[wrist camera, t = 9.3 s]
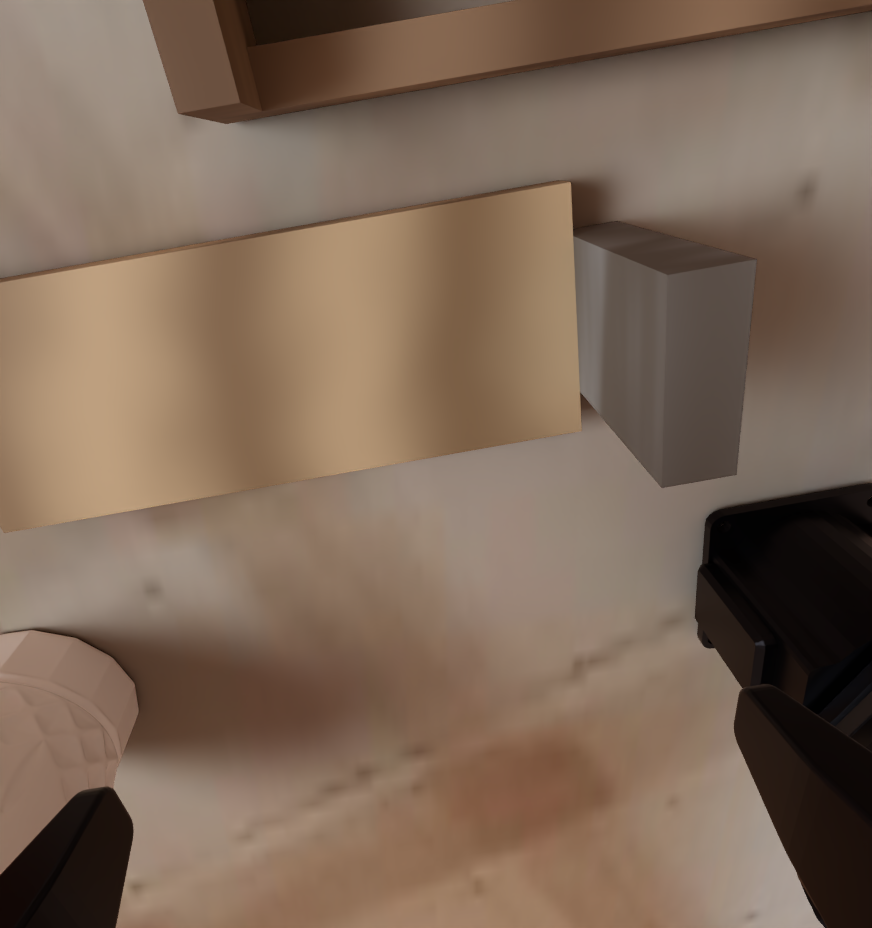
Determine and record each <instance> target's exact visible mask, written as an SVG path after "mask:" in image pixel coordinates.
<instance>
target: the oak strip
mask: <svg viewBox="0 0 872 928" xmlns="http://www.w3.org/2000/svg"><path fill="white" fill-rule="evenodd" d="M756 263H757V259H754V258H750V257H747V256H743V255H739V254H736V253H732V252H728V251H725V250H721V249H717V248H714V247H710V246H706V245H703V244H699V243H695V242H691V241H688V240H684V239H680V238H677V237H673V236H669V235H666V234H662V233H658V232H655V231H651V230H647V229H644V228H640V227H636V226H633V225H629V224H625V223H622V222H618V221H615V222H610V223H604V224H598V225H593V226H587V227H581V228H576V229H573V222H572V199H571V182H566V181H559V180H558V181H552V182H546V183H541V184H535V185H529V186H524V187H518V188H512V189H507V190H501V191H495V192H490V193H484V194H478V195H473V196H467V197H461V198H455V199H450V200H444V201H438V202H433V203H427V204H421V205H416V206H410V207H404V208H399V209H393V210H387V211H382V212H376V213H370V214H365V215H359V216H353V217H348V218H342V219H336V220H331V221H325V222H319V223H313V224H308V225H302V226H296V227H291V228H285V229H279V230H274V231H268V232H262V233H257V234H251V235H245V236H240V237H234V238H228V239H223V240H217V241H211V242H206V243H200V244H194V245H189V246H183V247H177V248H171V249H166V250H160V251H154V252H149V253H143V254H137V255H132V256H126V257H120V258H115V259H109V260H103V261H98V262H92V263H86V264H81V265H75V266H69V267H64V268H58V269H52V270H47V271H41V272H35V273H30V274H24V275H18V276H12V277H7V278H1V279H0V527H1V529H2V530H3V532H4V533H8V532H13V531H19V530H25V529H30V528H36V527H42V526H47V525H53V524H58V523H64V522H70V521H75V520H81V519H87V518H92V517H98V516H104V515H109V514H115V513H121V512H126V511H132V510H138V509H143V508H149V507H155V506H160V505H166V504H172V503H177V502H183V501H188V500H194V499H200V498H205V497H211V496H217V495H222V494H228V493H234V492H239V491H245V490H251V489H256V488H262V487H268V486H273V485H279V484H285V483H290V482H296V481H302V480H307V479H313V478H319V477H324V476H330V475H335V474H341V473H347V472H352V471H358V470H364V469H369V468H375V467H381V466H386V465H392V464H398V463H403V462H409V461H415V460H420V459H426V458H432V457H437V456H443V455H449V454H454V453H460V452H465V451H471V450H477V449H482V448H488V447H494V446H499V445H505V444H511V443H516V442H522V441H528V440H533V439H539V438H545V437H550V436H556V435H562V434H567V433H573V432H579V431H582V427H581V404H580V392H581V394H582V395H583V396H584V397H585V398H586V399H587V401H588V402H589V403H590V404H591V405H592V406H593V408H594V409H595V410H596V411H597V412H598V414H599V415H600V416H601V417H602V418H603V419H604V421H605V422H606V423H607V424H608V425H609V426H610V428H611V429H612V430H613V431H614V432H615V434H616V435H617V436H618V437H619V438H620V439H621V441H622V442H623V443H624V444H625V445H626V446H627V448H628V449H629V450H630V451H631V452H632V454H633V455H634V456H635V457H636V458H637V459H638V461H639V462H640V463H641V464H642V465H643V467H644V468H645V469H646V470H647V471H648V472H649V474H650V475H651V476H652V477H653V478H654V479H655V481H656V482H657V483H658V484H659V485H660V487H661V488H665V487H670V486H676V485H681V484H687V483H693V482H698V481H704V480H710V479H715V478H721V477H727V476H732V475H736V474H737V464H738V453H739V443H740V432H741V421H742V411H743V400H744V390H745V379H746V369H747V358H748V348H749V337H750V327H751V316H752V305H753V295H754V284H755V274H756Z"/></svg>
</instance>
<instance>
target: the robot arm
mask: <svg viewBox="0 0 872 928" xmlns="http://www.w3.org/2000/svg"><path fill="white" fill-rule="evenodd" d="M871 496H872V483H868V484H862V485H857V486H851V487H845V488H840V489H834V490H828V491H823V492H817V493H812V494H806V495H800V496H795V497H789V498H783V499H778V500H772V501H766V502H761V503H755V504H749V505H744V506H738V507H733V508H727V509H721V510H717V511H715V512H713V513H712V514H710V515H709V516H708V518H707V519H706V522H705V531H704V546H703V560H702V565H701V566H700V568H699V570H698V576H697V591H696V606H695V619H696V621H697V622H698V632H697V635H698V638H699V640H700V641H701V643H702V644H703V646H704V647H706V648H715V649H716V650H717V651H718V653H719V654H720V656H721V657H722V659H723V660H724V662H725V663H726V665H727V666H728V668H729V669H730V671H731V672H732V674H733V675H734V676H735V678H736V679H737V681H738V682H739V684H740V685H741V687H742V688H743V689H742V690H741V691H740V693H739V697H738V703H737V708H736V714H735V720H734V733H735V737H736V740H737V743H738V745H739V748H740V750H741V752H742V754H743V757H744V759H745V761H746V764H747V766H748V768H749V770H750V773H751V775H752V777H753V779H754V782H755V784H756V786H757V788H758V791H759V793H760V795H761V797H762V800H763V802H764V804H765V807H766V809H767V811H768V813H769V816H770V818H771V820H772V822H773V825H774V827H775V829H776V831H777V834H778V836H779V838H780V840H781V842H782V844H783V847H784V849H785V851H786V853H787V855H788V857H789V859H790V861H791V863H792V864H793V866H794V868H795V870H796V872H797V875H798V878H799V880H800V882H801V885H802V887H803V889H804V892H805V894H806V896H807V899H808V901H809V903H810V905H811V906H812V909H813V911H814V913H815V916H816V917H817V919H818V920H819V921H820V923H821V924H822V925H823V926H824V927H825V928H872V497H871ZM870 497H871V498H870ZM869 498H870V499H869ZM868 499H869V500H868ZM724 521H725V522H724ZM722 522H724V524H723V525H722V526H719V527H718V525H719V524H720V523H722ZM132 841H133V823H132V819H131V817H130V815H129V814H128V812H127V810H126V809H125V807H124V805H123V804H122V802H121V800H120V799H119V797H118V795H117V794H116V792H115V791H114V789H112V788H111V787H108V786H106V787H99V788H92V789H86V790H83V791H80V792H78V793H77V794H76V795H75V796H73V797H72V798H71V799H70V800H69V802H68V803H67V804H66V805H65V806H64V807H63V808H62V809H61V810H60V811H59V812H58V813H57V814H56V815H55V817H54V818H53V819H52V820H51V821H50V822H49V823H48V824H47V825H46V826H45V827H44V828H43V829H42V830H41V832H40V833H39V834H38V835H37V836H36V837H35V838H34V839H33V840H32V841H31V842H30V843H29V844H28V845H27V846H26V848H25V849H24V850H23V851H22V852H21V853H20V854H19V855H18V856H17V857H16V858H15V859H14V860H13V861H12V863H11V864H10V865H9V866H8V867H7V868H6V869H5V870H4V871H3V872H2V873H1V874H0V928H116V923H117V918H118V913H119V908H120V903H121V897H122V892H123V887H124V882H125V877H126V872H127V866H128V861H129V856H130V851H131V846H132Z"/></svg>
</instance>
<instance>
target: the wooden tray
mask: <svg viewBox="0 0 872 928" xmlns="http://www.w3.org/2000/svg"><path fill="white" fill-rule="evenodd" d="M143 2H144V6H145V9H146V12H147V15H148V18H149V22H150V25H151V28H152V31H153V35H154V38H155V41H156V44H157V47H158V51H159V54H160V57H161V60H162V64H163V67H164V70H165V73H166V76H167V80H168V83H169V86H170V89H171V93H172V96H173V99H174V102H175V106H176V109H177V112H178V114H182V115H187V116H192V117H196V118H201V119H206V120H210V121H215V122H220V123H224V124H229V123H234V122H240V121H246V120H251V119H257V118H263V117H269V116H274V115H280V114H286V113H291V112H297V111H303V110H308V109H314V108H320V107H325V106H331V105H337V104H343V103H348V102H354V101H360V100H365V99H371V98H377V97H382V96H388V95H394V94H399V93H405V92H411V91H417V90H422V89H428V88H434V87H439V86H445V85H451V84H456V83H462V82H468V81H473V80H479V79H485V78H491V77H496V76H502V75H508V74H513V73H519V72H525V71H530V70H536V69H542V68H547V67H553V66H559V65H565V64H570V63H576V62H582V61H587V60H593V59H599V58H604V57H610V56H616V55H621V54H627V53H633V52H639V51H644V50H650V49H656V48H661V47H667V46H673V45H678V44H684V43H690V42H695V41H701V40H707V39H713V38H718V37H724V36H730V35H735V34H741V33H747V32H752V31H758V30H764V29H769V28H775V27H781V26H787V25H792V24H798V23H804V22H809V21H815V20H821V19H826V18H832V17H838V16H843V15H849V14H855V13H861V12H866V11H872V0H515V1H509V2H504V3H498V4H492V5H487V6H481V7H475V8H469V9H464V10H458V11H452V12H447V13H441V14H435V15H430V16H424V17H418V18H412V19H407V20H401V21H395V22H390V23H384V24H378V25H373V26H367V27H361V28H356V29H350V30H344V31H338V32H333V33H327V34H321V35H316V36H310V37H304V38H299V39H293V40H287V41H281V42H276V43H270V44H264V45H259V46H256V42H255V37H254V33H253V29H252V25H251V21H250V17H249V13H248V9H247V5H246V1H245V0H143Z"/></svg>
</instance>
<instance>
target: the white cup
mask: <svg viewBox="0 0 872 928" xmlns="http://www.w3.org/2000/svg"><path fill="white" fill-rule="evenodd" d="M138 713H139V708H138V702H137V696H136V690H135V684H134V682H133V681H132V680H131V679H130V677H129V676H128V675H127V674H126V673H125V671H124V670H123V669H122V668H121V667H120V666H119V664H118V663H117V662H116V661H115V660H114V659H113V658H112V657H111V656H109V655H107V654H105V653H104V652H102V651H100V650H98V649H96V648H94V647H92V646H90V645H88V644H87V643H85V642H83V641H81V640H79V639H77V638H74V637H68V636H63V635H57V634H52V633H46V632H40V631H35V630H28V631H21V632H13V633H6V634H0V874H1V873H2V872H3V871H4V870H5V869H6V868H7V867H8V866H9V865H10V864H11V863H12V861H13V860H14V859H15V858H16V857H17V856H18V855H19V854H20V853H21V852H22V851H23V850H24V849H25V848H26V846H27V845H28V844H29V843H30V842H31V841H32V840H33V839H34V838H35V837H36V836H37V835H38V834H39V833H40V832H41V830H42V829H43V828H44V827H45V826H46V825H47V824H48V823H49V822H50V821H51V820H52V819H53V818H54V817H55V815H56V814H57V813H58V812H59V811H60V810H61V809H62V808H63V807H64V806H65V805H66V804H67V803H68V802H69V800H70V799H71V798H72V797H73V796H75V795H76V794H77V793H78V792H80V791H83V790H86V789H92V788H99V787H106V786H108V787H111V788H112V789H113V787H114V780H115V775H116V770H117V767H118V765H119V763H120V760H121V757H122V755H123V752H124V750H125V747H126V744H127V742H128V739H129V737H130V734H131V732H132V729H133V726H134V724H135V721H136V719H137V716H138Z"/></svg>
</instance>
